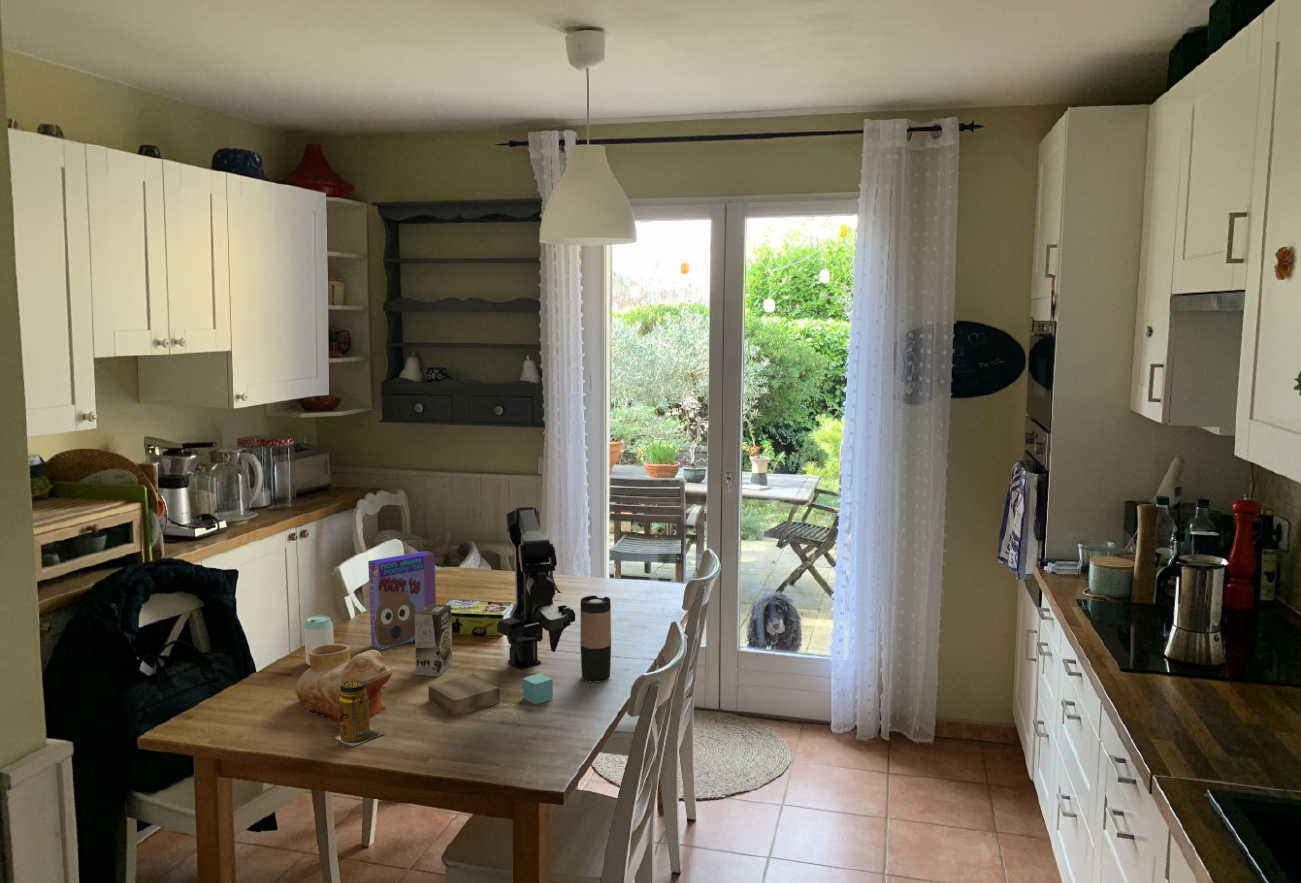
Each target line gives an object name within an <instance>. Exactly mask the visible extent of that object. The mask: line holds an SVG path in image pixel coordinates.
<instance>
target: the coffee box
mask: <svg viewBox="0 0 1301 883" xmlns="http://www.w3.org/2000/svg"><path fill="white" fill-rule="evenodd" d="M452 635H453V634H452V605H451V604H436V605H432V604H429V605H427V606H426V607H424V608H423V609H421V610H420V611H418V612H417V613H415V642H414V643H415V645H414V647H415V675H416V676H423V675H425V677H434V676H435V677H436V678H438V677H439V676H441V675H442V674H443V673H444V672H446V671H447V670H448V669H449V668H451V667H452V666H453V638H452Z"/></svg>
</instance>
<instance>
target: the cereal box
mask: <svg viewBox="0 0 1301 883" xmlns="http://www.w3.org/2000/svg"><path fill="white" fill-rule="evenodd" d="M435 563H436V562H435V553H433V552H432V551H428V550H423V551H418V552H411V553H407V554H401V555H395V556H390V557H383V558H377V559H372V560H368V562H367V564H368V590H369V618H370V621H369V622H370V644H371V645H373V646H374V647H373V646H372V647H373V648H375V647H376V648H375V649H377V648H378V649H381V650H383V649H382V648H385V649H387V648H386V647H389V648H392V647H391V646H394V647H396V646H395V645H398V646H401V645H400V644H402V645H406V644H409V643H415V613H417V612H418V611H420V610H421V609H423V608H424V607H426V606H427V605H429V604H432V605H437V599H436V597H437V596H436V595H437V594H436V564H435ZM378 649H377V650H378Z"/></svg>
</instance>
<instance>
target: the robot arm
mask: <svg viewBox="0 0 1301 883" xmlns="http://www.w3.org/2000/svg"><path fill="white" fill-rule="evenodd" d="M540 529H541V521H540V512H539V511H538V510H536V506H533V505H525V506H522V505H520V506H517V507H515V508H514V510H511V511H510V512H508V513H506V514H505V517H504V530H505V533H507V537H508V539H509V541H510V542H511V544H512V545H513V549H514V553H513V554H514V582H515V583H514V585H515V588H514V589H515V603H514V606H513V607H512V609H511V611H510V613H509V617H507V618H502V619H499V620H498V622H497V624H496V633H499V634H501V635H503V636H506V639H507V640H506V641H507V643H508V645H510V647H509V649H508V650H509V660H507V663H508V664H510V665H513V666H514V667H516V668H518V669H525V668H528V667H532V666H535V665H540V664H542V661H541V660H539V658H538V642H539V643H540V642H542V640H543V635H544V630H545V631H547V632H548V637H549V638H548V639H549V646H550V650H551V652H552V653H555V652H556V650H557V648H558V645H559V641H560V639H561V636H562V633H563V632H564V630H565V629H566V628H567V627H570V626H571V624H572V623H573V622H575V621H576V613H575V610H574V609H572V608H571V607H570V606H569V605H568V604H566V603H565V604H562V605H554V601H553V600H554V597H555V596H554V595H555V592H556V590H555V587H554V584H553V583H552V581H551V579H550V577H549V571H553V572H555V571H556V566H557V565H558V562H557V561H558V560H557V554H556V548H555V546H554V545H553V544H554V543H553V542H550V538H549V537H548V535H547V534H545V533H542V532H541V530H540ZM550 562H551V566H550Z"/></svg>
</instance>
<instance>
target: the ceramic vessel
mask: <svg viewBox="0 0 1301 883" xmlns="http://www.w3.org/2000/svg"><path fill="white" fill-rule="evenodd" d="M309 660H310V665H309V667H310V668H308V669H306V671H304V672H303V674H301V676H300V678H299V680H298V681H297V682H296V684H295V690H294V691H295V694H296V697H297V698H298V701H299V703H300V704H301V705H302V707H303V709H304V710H305V711H306V710H308V711H309V712H312V713H311V714H313V713H316V714H315V715H317V714H318V716H320V715H324V716H323V717H325V718H328V717H330V718H331V719H332V720H334V721H337V722H338V723H340V709H339V698H340V696H341V694H340V693H341V689H340V687H341V685H342V684H343V683H345V682H347V681H352V680H361V681H364V682H365V683H366V690H367V691H366V693H367V694H368V699H369V719H370V718H373V717H374V716H376V715H378V714H380V713H382V712H384V711H385V710H386V709H387V705H386V704H385V703H384V701H383V697H382V688H383V686H384V685H386V684H387V683H388V682H389V681H390V679H391V677H392V676H393V674H394V673H393V669H392V668H389V667H388V666H386V664H385V662H384V657H383V655H382V654H381V653H380V651H379V650H376V649H369V650H366V651H364V652H361V653H358V654H356V655H354V656H353V657H352V658H351V648H350V646H348V645H346V644H343V643H342V644H341V643H334V644H325V645H320V646H317V647H314V648H312V649H311V650H310V651H309ZM383 710H384V711H383ZM308 711H307V712H308ZM381 711H382V712H381ZM309 712H308V713H309ZM330 718H329V719H330Z"/></svg>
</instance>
